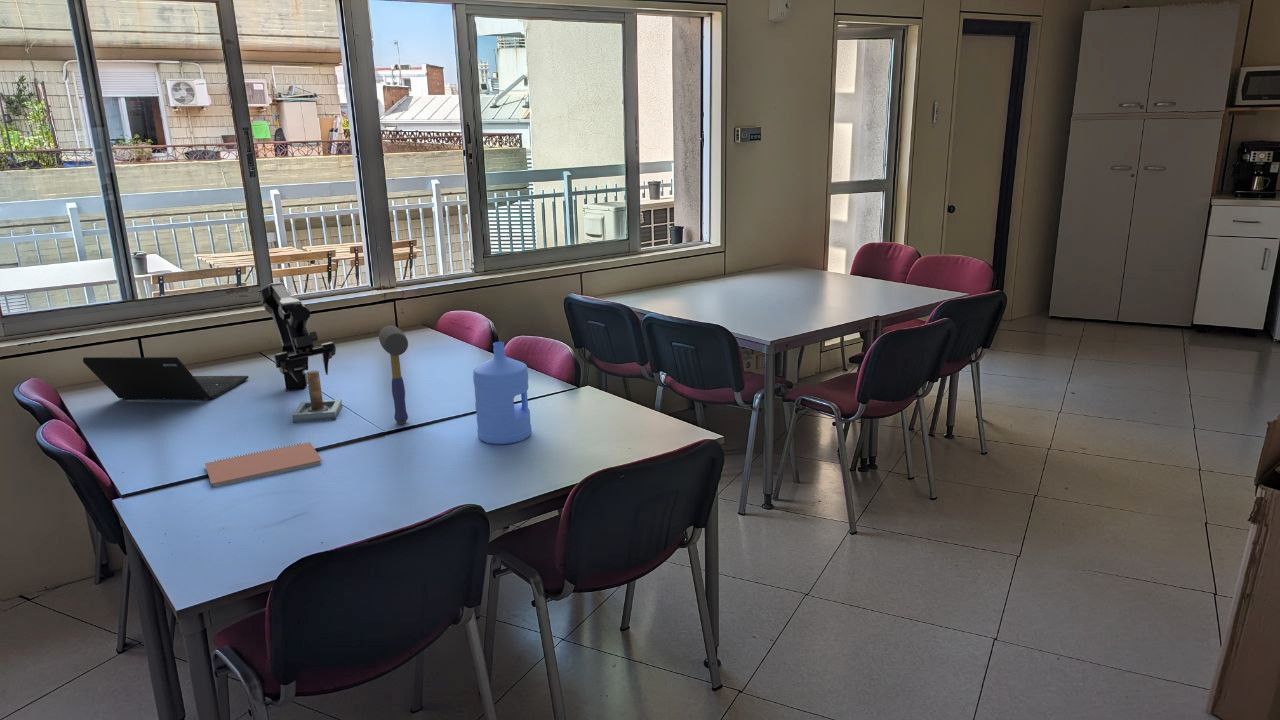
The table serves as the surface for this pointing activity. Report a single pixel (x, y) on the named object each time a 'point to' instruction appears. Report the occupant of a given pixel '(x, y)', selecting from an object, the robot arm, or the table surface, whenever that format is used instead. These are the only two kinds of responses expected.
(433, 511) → the table surface
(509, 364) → the water jug
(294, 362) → the robot arm
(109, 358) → the laptop
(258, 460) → the notebook
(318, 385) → the wooden post on disc
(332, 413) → the tray
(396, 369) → the rubber mallet
